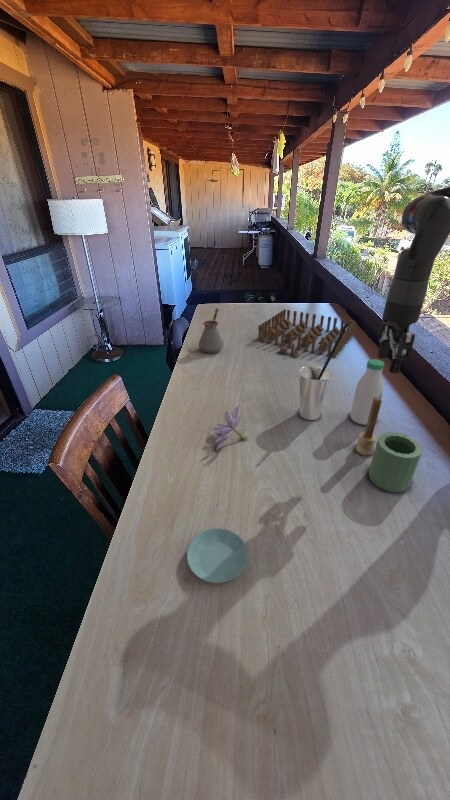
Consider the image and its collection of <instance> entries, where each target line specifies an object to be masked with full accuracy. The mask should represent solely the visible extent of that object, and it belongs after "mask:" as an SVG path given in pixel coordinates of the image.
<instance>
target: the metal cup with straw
mask: <svg viewBox="0 0 450 800" xmlns="http://www.w3.org/2000/svg"><path fill="white" fill-rule="evenodd" d="M348 324H349V323H346V322H344V325H343V329H342V331H341V333H340V334H338V337H337V338H336V340H337V341H336V343H335V342H334V344H335V345H334V344H333V346H332V348H331V353H330V355H329V356H327V358H326V361H325V362H324V364H323V366H319V365H305V366H302V367H300V368H299V369H298V375H299V416H300V417H301V418H302V419H304V420H308V421H315V420H318V419H320V414H321V412H322V408H323V404H324V401H325V398H326V394H327V391H328V387H329V384H330V381H331V379H332V378H333V372H332V371H331V370H330V369H328V368H327V367H328V365H329V363H330V362H331V359H332V358H333V353H334V351H335V349H336V347H337V346H338V344H339V342H340V340H341V338H342V336H343V334H344V332H345V330H347V327H348Z"/></svg>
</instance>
